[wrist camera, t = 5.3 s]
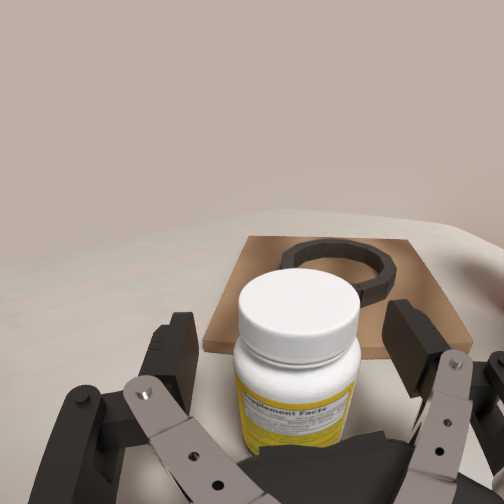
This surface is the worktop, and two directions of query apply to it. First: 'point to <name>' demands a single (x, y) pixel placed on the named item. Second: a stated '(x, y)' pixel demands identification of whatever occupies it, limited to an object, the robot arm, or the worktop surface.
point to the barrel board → (352, 271)
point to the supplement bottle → (296, 358)
